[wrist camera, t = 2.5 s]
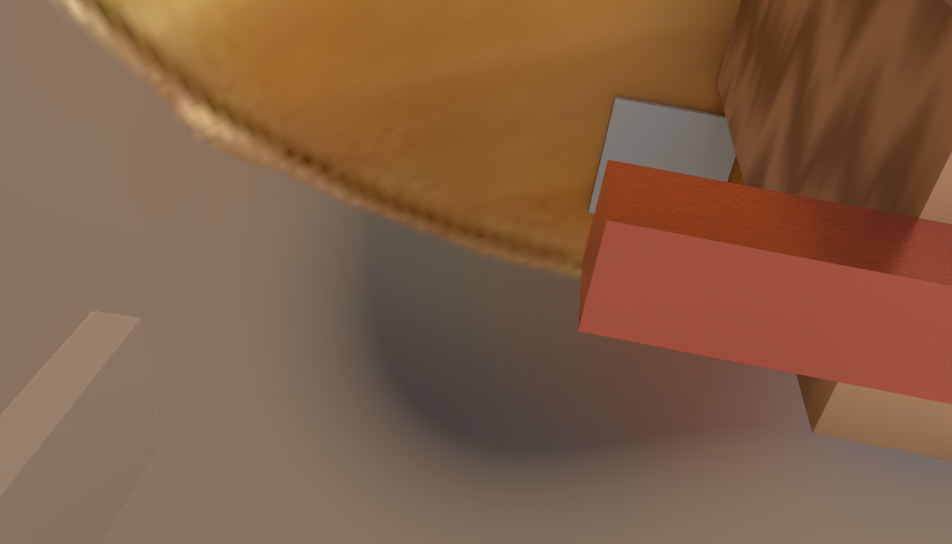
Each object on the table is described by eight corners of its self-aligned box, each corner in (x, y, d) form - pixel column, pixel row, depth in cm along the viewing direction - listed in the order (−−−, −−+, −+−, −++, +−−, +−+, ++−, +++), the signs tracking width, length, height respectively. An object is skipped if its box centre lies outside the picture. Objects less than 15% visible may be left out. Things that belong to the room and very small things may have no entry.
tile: (615, 92, 53) (615, 98, 52) (744, 115, 53) (747, 121, 52) (588, 205, 57) (588, 212, 56) (708, 227, 57) (709, 234, 56)
